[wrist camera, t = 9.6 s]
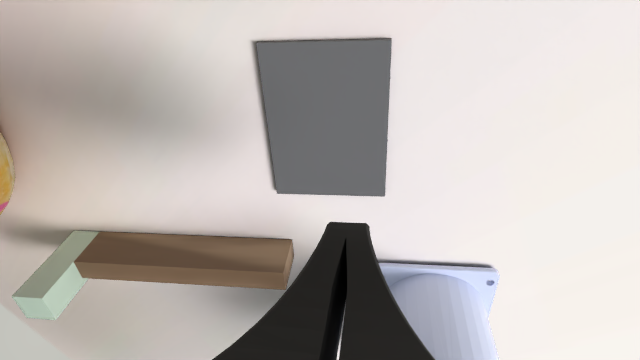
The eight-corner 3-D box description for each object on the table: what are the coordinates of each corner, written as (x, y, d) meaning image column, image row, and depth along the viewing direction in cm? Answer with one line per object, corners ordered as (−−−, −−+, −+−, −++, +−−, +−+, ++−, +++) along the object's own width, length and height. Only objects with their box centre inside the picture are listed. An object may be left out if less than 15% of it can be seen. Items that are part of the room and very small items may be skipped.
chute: (294, 261, 28) (276, 336, 23) (84, 251, 30) (26, 317, 25) (249, -109, 16) (193, -117, 11) (-88, -85, 18) (-258, -82, 14)
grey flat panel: (384, 193, 24) (384, 196, 24) (278, 190, 25) (276, 193, 25) (391, 38, 19) (391, 40, 19) (257, 41, 20) (255, 43, 20)
